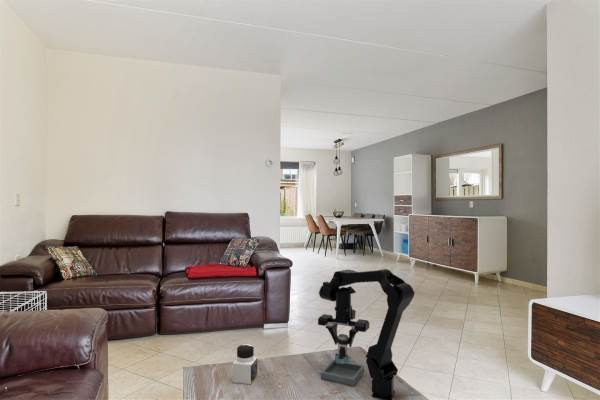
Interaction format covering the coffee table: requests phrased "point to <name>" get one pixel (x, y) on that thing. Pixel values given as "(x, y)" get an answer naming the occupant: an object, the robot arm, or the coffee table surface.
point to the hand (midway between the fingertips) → (343, 345)
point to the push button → (342, 349)
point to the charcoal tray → (343, 373)
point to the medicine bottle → (245, 365)
